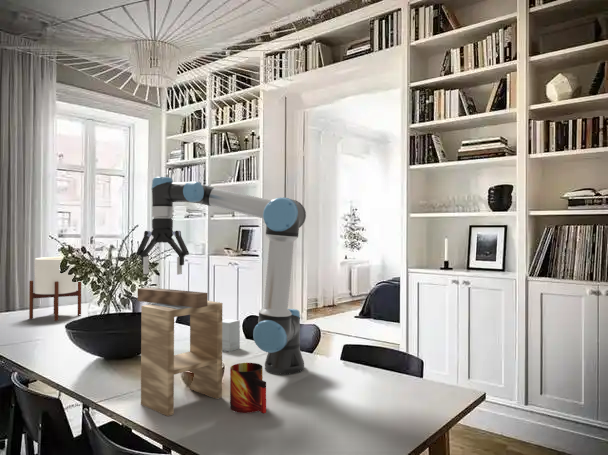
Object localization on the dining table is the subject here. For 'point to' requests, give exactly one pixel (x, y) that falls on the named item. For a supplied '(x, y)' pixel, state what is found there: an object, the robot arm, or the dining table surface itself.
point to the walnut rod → (173, 297)
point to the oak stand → (163, 362)
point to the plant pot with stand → (52, 284)
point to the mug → (247, 388)
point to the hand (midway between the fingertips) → (162, 274)
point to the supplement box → (230, 334)
